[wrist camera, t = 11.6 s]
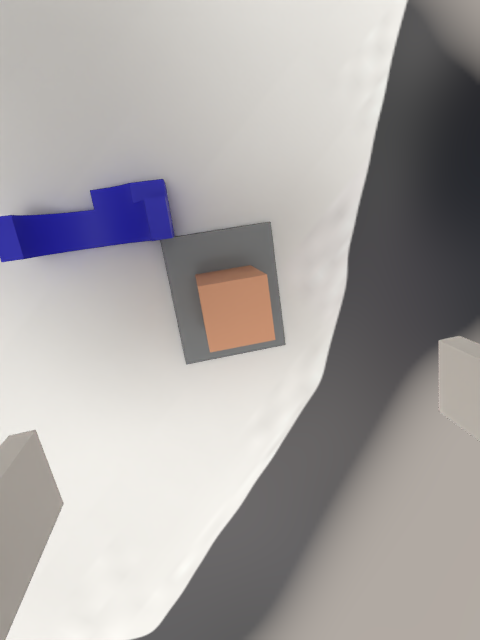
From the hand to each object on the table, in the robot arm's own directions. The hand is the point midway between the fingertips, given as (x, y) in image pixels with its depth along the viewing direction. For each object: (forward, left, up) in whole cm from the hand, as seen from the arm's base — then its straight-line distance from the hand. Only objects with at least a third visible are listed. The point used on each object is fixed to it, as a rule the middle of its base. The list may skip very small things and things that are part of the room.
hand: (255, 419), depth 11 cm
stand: (0, +2, -23) cm, 23 cm away
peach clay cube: (+1, +2, -22) cm, 22 cm away
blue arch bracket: (-8, -8, -23) cm, 26 cm away
